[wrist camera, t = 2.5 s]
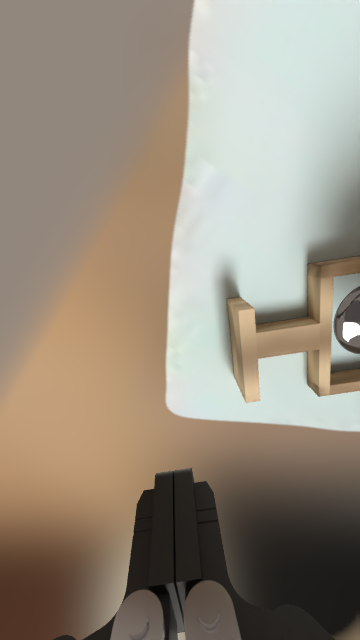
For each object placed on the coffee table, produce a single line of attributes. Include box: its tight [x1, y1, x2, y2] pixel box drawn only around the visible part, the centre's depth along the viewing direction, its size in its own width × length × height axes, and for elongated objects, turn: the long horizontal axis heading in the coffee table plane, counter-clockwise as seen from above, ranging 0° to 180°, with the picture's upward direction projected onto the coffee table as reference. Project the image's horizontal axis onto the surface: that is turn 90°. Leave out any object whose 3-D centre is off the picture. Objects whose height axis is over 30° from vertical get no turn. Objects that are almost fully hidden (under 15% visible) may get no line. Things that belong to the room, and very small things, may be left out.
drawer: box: [227, 256, 360, 403], centre depth 22 cm, size 12×19×4 cm, turn 99°
